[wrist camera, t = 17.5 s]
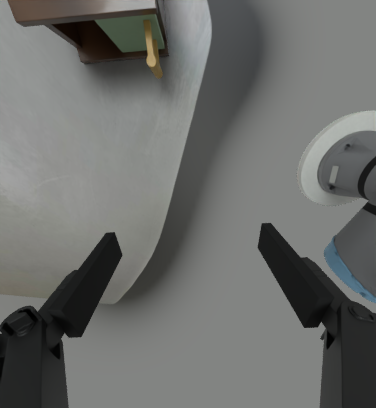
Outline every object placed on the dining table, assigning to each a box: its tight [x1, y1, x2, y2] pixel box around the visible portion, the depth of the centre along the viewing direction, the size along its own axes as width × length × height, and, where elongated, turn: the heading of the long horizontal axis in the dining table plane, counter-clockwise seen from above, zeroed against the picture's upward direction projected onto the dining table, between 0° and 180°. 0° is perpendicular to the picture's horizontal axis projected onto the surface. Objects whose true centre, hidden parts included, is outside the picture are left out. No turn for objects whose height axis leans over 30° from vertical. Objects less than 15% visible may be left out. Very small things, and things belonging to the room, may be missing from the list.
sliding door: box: [95, 14, 165, 79], centre depth 24 cm, size 8×6×10 cm
